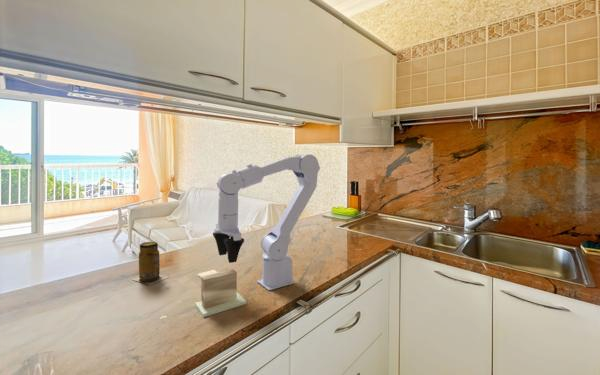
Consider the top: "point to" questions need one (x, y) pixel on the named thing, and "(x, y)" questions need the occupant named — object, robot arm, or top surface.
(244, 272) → the top surface
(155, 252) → the condiment
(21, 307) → the top surface
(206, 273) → the tile
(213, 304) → the tan wooden block
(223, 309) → the rest board
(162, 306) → the top surface
